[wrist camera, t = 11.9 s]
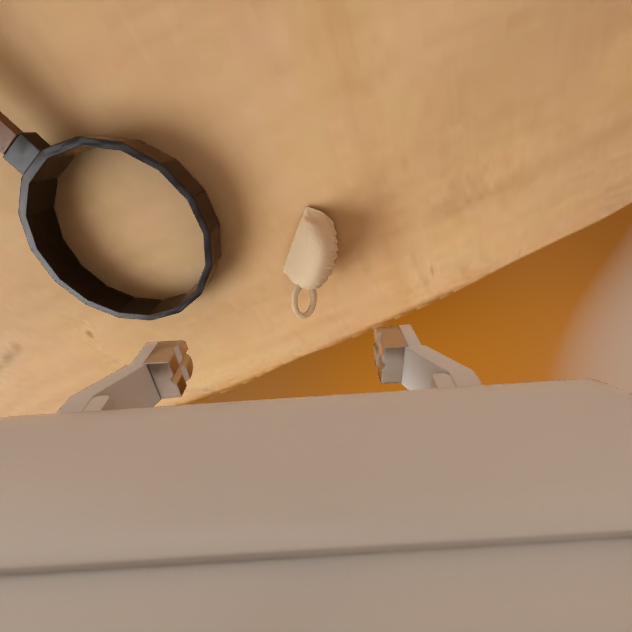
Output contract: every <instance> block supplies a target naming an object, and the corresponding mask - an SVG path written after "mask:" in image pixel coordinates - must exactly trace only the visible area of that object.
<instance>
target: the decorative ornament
mask: <svg viewBox="0 0 632 632" xmlns="http://www.w3.org/2000/svg"><path fill="white" fill-rule="evenodd" d="M336 235H337V231H336V230H335V229H334V222H333V221H332V220H331V219H330V218H329V217H328V216H327V215H326V214H324V213H323V212H321V211H318V210H316V209H313V208H311V207H306V209H305V211H304V213H303V215H302V218H301V220H300V223H299V226H298V228H297V231H296V234H295V237H294V239H293V242H292V245H291V248H290V251H289V254H288V256H287V259H286V262H285V265H284V268H283V272H284V273H285V274H287V275H288V277H289V279H290V280H291V281H292V282H293V283H294V284H295V287H294V289H293V291H292V296H291V304H292V309H293V312H294V313H295V315H296V316H297V317H299V318H302V319H304V318H307V317H309V316H310V315H311V314H312V312H313V311H314V309H315V306H316V301H317V292H316V288H319V287H321V286H322V284H323V283H325V282H326V281H327V279H328V276H330V275H331V274H332V268H334V267H335V266H336V264H335V262H334V261H335V259H337V254H336V253H337V251H338V247H337V243H338V240H337V239H336ZM301 289H304V290H309V291H310V296H311V301H310V305H309V308H308V310H307V311H306V312H305V313H301V312H300V311H299V309H298V304H297V300H298V294H299V292H300V290H301Z"/></svg>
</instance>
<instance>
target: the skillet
mask: <svg viewBox="0 0 632 632" xmlns="http://www.w3.org/2000/svg"><path fill="white" fill-rule="evenodd" d="M94 148H105V149H113V150H121V151H123V152H125V153H127V154H129V155H131V156H132V157H134V158H136V159H138V160H140V161H142V162H144V163H146V164H148V165H150V166H152V167H153V168H155V169H157V170H159V171H160V172H161V173H162V174H163V175H164V176H165V177H166V178H167V179H168V181H169V182H170V183H171V184H172V185H173V186H174V187H175V188H176V189H177V190H178V191H179V192H180V193H181V194H182V195H183V196H184V197H185V198H186V199H187V200H188V202H189V204H190V207H191V209H192V211H193V213H194V215H195V217H196V219H197V221H198V223H199V226H200V228H201V230H202V232H203V236H204V251H205V268H204V270H203V273H202V275H201V278H200V280H199V283H198V284H197V285H196V286H195V287H193V288H192V289H191V290H190V291H189V292H188V293H186V294H182V295H179V296H175V297H172V298H168V299H165V300H157V299H146V298H135V297H133V296H130V295H128V294H125V293H123V292H121V291H118V290H116V289H113V288H111V287H109V286H106V285H105V284H104V283H103V282H102V281H100V280H99V279H98V278H97V277H95V276H94V275H93V274H92V273H90V272H89V271H88V270H87V269H85V268H84V267H83V266H82V265H81V264H80V262H79V261H78V260H77V258H76V257H75V255H74V254H73V252H72V251H71V250H70V248H69V247H68V245H67V244H66V242H65V241H64V240H63V238H62V234H61V231H60V228H59V224H58V221H57V217H56V214H55V210H54V202H55V194H56V187H57V180H58V177H59V176H60V174H61V173H62V172H63V171H64V169H65V168H66V167H67V165H68V164H69V163H70V162H71V160H72V159H73V158H74V157H75V155H77V154H80V153H83V152H85V151H88V150H91V149H94ZM0 152H2V153H3V154H5V155H4V156H3V158H4V159H5V160H6V161H8V162H9V163H10V164H11V165H12V166H13V167H15V168H16V169H17V170H18V171H19V172H20V173H22V174H23V176H22V178H21V188H20V200H19V212H18V213H19V217H20V220H21V223H22V225H23V228H24V231H25V234H26V237H27V240H28V243H29V246H30V249H31V251H32V252H33V253H34V255H35V256H36V257H37V258H38V260H39V261H40V262H41V264H42V265H43V266H44V268H45V269H46V270H47V272H48V273H49V274H50V275H51V277H52V278H53V279H54V281H56V282H57V283H58V284H59V285H61V286H62V287H63V288H65V289H66V290H67V291H69V292H70V293H71V294H73V295H74V296H75V297H77V298H78V299H79V300H81V301H82V302H83V303H85V304H86V305H89V306H91V307H94V308H96V309H99V310H101V311H104V312H106V313H109V314H111V315H114V316H116V317H119V318H129V319H141V320H154V319H158V318H162V317H165V316H169V315H172V314H176V313H179V312H181V311H182V310H183V309H185V308H186V307H187V306H188V305H189V304H191V303H192V302H193V301H194V300H195V299H196V298H198V297H199V296H200V295H201V294H202V292H203V291H204V289H205V288H206V287H207V285H208V284H209V282H210V281H211V279H212V276H213V274H214V271H215V269H216V267H217V264H218V262H219V259H220V257H221V240H220V224H219V221H218V219H217V216H216V214H215V212H214V209H213V207H212V205H211V203H210V200H209V198H208V196H207V194H206V191H205V190H204V188H203V187H202V186H201V185H200V184H199V183H198V182H197V181H196V180H195V179H194V178H193V177H192V175H191V174H190V173H189V172H188V171H187V170H186V169H185V168H184V167H183V166H182V165H181V164H180V162H179V161H177V160H176V159H174V158H172V157H171V156H169V155H167V154H165V153H163V152H161V151H159V150H158V149H156V148H154V147H152V146H150V145H148V144H146V143H145V142H143V141H140V140H134V139H125V138H117V137H109V136H79V137H74V138H71V139H69V140H66V141H63V142H61V143H58V144H55V145H53V146H50V145H49V144H48V143H47V142H46V141H45V140H44V139H43V138H41V137H40V136H39V135H38V134H37V133H36V132H22V131H21V130H20V129H19V128H18V127H17V126H16V125H15V124H13V123H12V122H11V121H10V120H9V119H8V118H7V117H6V116H5V115H4V114H2V113H1V112H0Z"/></svg>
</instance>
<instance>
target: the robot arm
mask: <svg viewBox="0 0 632 632" xmlns="http://www.w3.org/2000/svg"><path fill="white" fill-rule="evenodd" d="M374 338H375V344H374V347H373V348H374V349H373V352H374V361H375V365H376V366H377V367H378V375H379V378H380V381H381V384H383V383H402V384H403V385H404V386H405V387H406V388H407V389H408V390H404V391H389V392H374V393H359V394H343V395H328V396H313V397H298V398H283V399H269V400H253V401H237V402H223V403H207V404H192V405H177V406H162V407H153V406H154V405H156V404H157V403H158V402H159V401H160V400H161V399H163V398H174V397H182V394H183V392H184V390H185V388H186V386H187V385H186V381H187V380H188V379H190V377H191V375H192V370H193V364H192V359H191V357H190V356H189V355H188V354H186V352H187V350H188V347H187V345H186V342H185V341H183V340H182V341H161V342H149V343H146V344H145V346H144V347H143V348H142V350H141V351H140V352H139V354H138V355H137V356H136V358H135V359H134V360H133V362H132V363H131V364H130V365H127V366H125V367H123V368H121V369H119V370H117V371H116V372H114V373H112V374H110V375H108V376H107V377H105V378H103V379H101V380H100V381H98V382H96V383H94V384H92V385H91V386H89V387H87V388H85V389H84V390H82V391H80V392H78V393H76V394H75V395H73V396H71V397H70V398H69V399H68V400H67V401H66V402H65V404H64V405H63V406H62V407H61V408H60V409H59V410H58V411H57V413H55V414H40V415H25V416H9V417H0V632H632V393H629V392H627V391H624V390H622V389H619V388H617V387H614V386H612V385H609V384H607V383H604V382H601V381H598V380H593V379H570V380H557V381H542V382H527V383H512V384H497V385H483V384H482V383H481V381H480V380H479V379H478V377H477V376H476V374H475V373H474V371H473V370H471V369H469V368H467V367H465V366H463V365H462V364H460V363H458V362H456V361H454V360H452V359H450V358H448V357H446V356H444V355H442V354H441V353H439V352H437V351H435V350H433V349H431V348H429V347H427V346H422V345H421V343H420V341H419V339H418V337H417V336H416V334H415V332H414V330H413V328H412V326H411V325H400V326H390V327H379V328H374Z"/></svg>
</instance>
